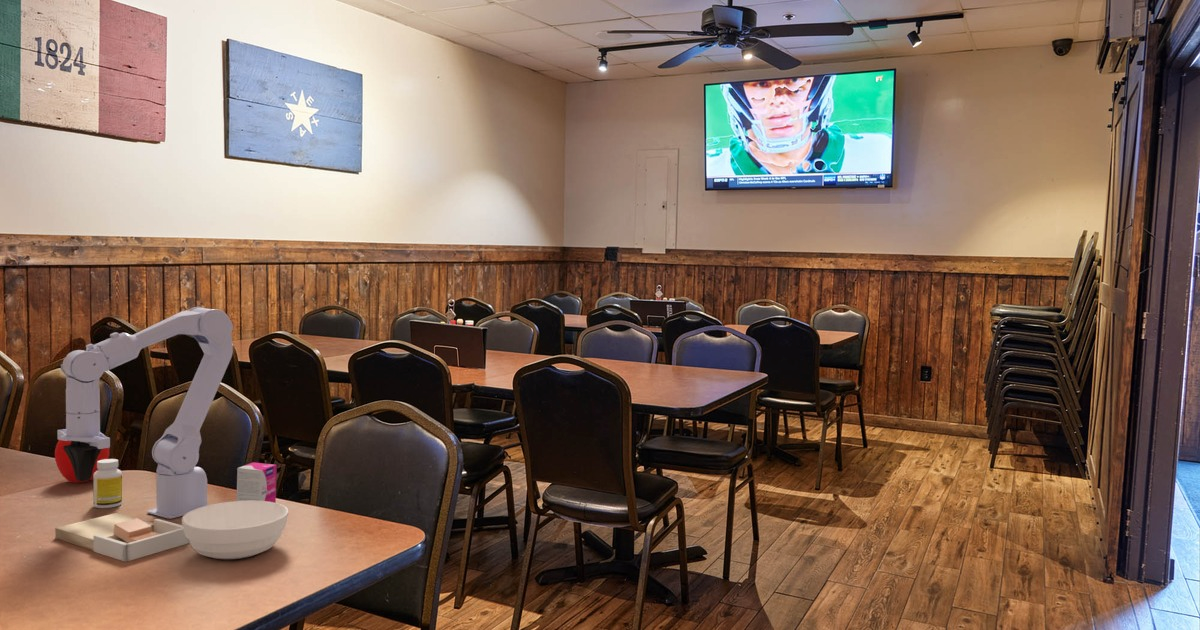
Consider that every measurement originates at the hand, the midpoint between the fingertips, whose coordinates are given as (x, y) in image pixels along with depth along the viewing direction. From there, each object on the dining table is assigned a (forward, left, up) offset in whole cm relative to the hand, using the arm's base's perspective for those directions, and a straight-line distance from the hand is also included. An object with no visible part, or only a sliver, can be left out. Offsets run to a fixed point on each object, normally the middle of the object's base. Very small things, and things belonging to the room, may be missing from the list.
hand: (83, 479), depth 171 cm
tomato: (-20, -35, -10) cm, 42 cm away
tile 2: (0, +20, -10) cm, 22 cm away
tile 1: (0, +16, -8) cm, 18 cm away
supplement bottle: (-12, -12, -10) cm, 20 cm away
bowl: (-8, +35, -10) cm, 37 cm away
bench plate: (0, +8, -10) cm, 12 cm away
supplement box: (-23, +22, -10) cm, 33 cm away
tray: (0, +19, -10) cm, 21 cm away
